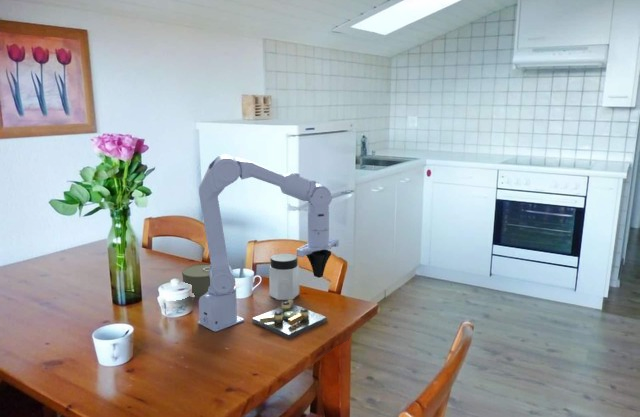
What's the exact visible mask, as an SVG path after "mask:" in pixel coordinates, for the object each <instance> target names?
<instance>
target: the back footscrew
mask: <svg viewBox="0 0 640 417" xmlns="http://www.w3.org/2000/svg"><path fill="white" fill-rule="evenodd" d="M292 304H294V299H289V300H283V301H282V302H281V307H282V312H287V311H291V306H292Z"/></svg>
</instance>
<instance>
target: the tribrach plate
mask: <svg viewBox="0 0 640 417" xmlns="http://www.w3.org/2000/svg"><path fill="white" fill-rule="evenodd" d="M302 308H303V307H302V306H300V305H297V304H294V303H293V304H292V306H291V311H287V312H282V306H279V307H277V308H275V309H272V310H269V311H267V312H265V313H262V314H260V315H257V316H254V317H252V318H251V319H252V322H251V323H253V324H255V325H258V326H260V327H262V328H264V329H266V330H269V331H271V332H272V333H274V334H277V335H279V336H281V337H284V338H286V339H288V340H289V339H291V338H293V337H296V336H297V335H300V334H303V333H305V332H307V331H309V330H312V329H314V328H316V327H318V326H320V325H322V324H324V323H326V322H328V317H327V316H324V315H322V314H321V313H317V312H314V311H312V310H309V309H308V310H309V319H307V320H301V321H299V322H297V323H295V324H293V325H289V324H288V319H290V318H292V317H294V316H296V315H298V314H300V310H301V309H302ZM276 311H281V312H282V313H283V322H282V323H275V322H270V323H262V324H261V323H260V317H263V316H271V315H274V313H275V312H276Z"/></svg>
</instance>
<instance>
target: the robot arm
mask: <svg viewBox="0 0 640 417" xmlns="http://www.w3.org/2000/svg"><path fill="white" fill-rule="evenodd" d="M239 178H240V179H241V180H246V179H249V178H254V179H257V180H260V181H262V182H265V183H268V184H270V185H274V186H277V187H279V188H280V191H281V193H282V194H284V195H287V196H289V197H292V198H295V199H297V200H300V201H302V202H307V205H308V206H307V210H308V211H307V242H306V244H305V245H302V246H300V247H299V248H296V256H297V257H299V258H304V257H305V256H306V257H307V259H308V261H309V263H310V266H311V269H312V273H313V276H314V277H316V278H323V276H324V272H325V270H326V269H325V268H326V265H327V263H328V261H329V259H330V257H331V255H332V251H331V249H332V248H333V247H335V248H338V247H339V245H340V244H339V243H340V242H339V239H336V238H330V206H329V205H330V204H331V203H332V201H333V196H332V193H331V190H329V188H328V187H327V186H325V185H324V184H321V183H319V182H318V181H316V180H315V179H311V180H310V179H307V178H304V177H303V176H301V174H300V173H299V172H296V171H294V173H292V172H288V173H287V174H281V173H279V172H277V171H274V170H272V169H270V168H267V167H264V166H263V165H261V164H259V163H255V162H254V161H250V160H247V159H244V158H241V157H237V156H236V157H233V156H231V155H230V154H220V155H218V156H217V157H215V158H214V160H212V161H211V163H209V165H208V167H207V169H206V172H205V174H204V176H203V178H202V180H201V183H199V184H200V185H199V186H198V195H199V201H200V206H201V212H202V219H203V224H204V231H205V237H206V242H207V248H208V256H209V260H210V264H211V266H210V269H209V276H210V287H208V292H207V293H206V294H205V295H203V296H201V297H200V298H198V315H199V317H198V318H199V319H198V321H197V323H198V324H199V325H201V326H202V327H203V326H204V327H205V328H207V329H209V330H211V331H213V332H214V333H215V332H219V331H222V330H225V329H227V328H228V327H231V326H234V325H237V324H240V323H241V322H244V321H245V319H244V318H243V317H241V316H239V315H238V309H237V308H238V307H237V306H238V304H237V286H236V278H235V276H234V273H233V266H232V265H231V264H230V263H229V258H228V253H227V248H226V241H225V235H224V234H225V233H224V228H223V227H224V226H223V222H222V216H221V210H220V203H219V202H220V201H219V195H220V194H221V193H223V191H224V190H225V188H226V187H229V186H230V185H231V184H233V183H235V182H236V181H237V180H238V179H239Z"/></svg>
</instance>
